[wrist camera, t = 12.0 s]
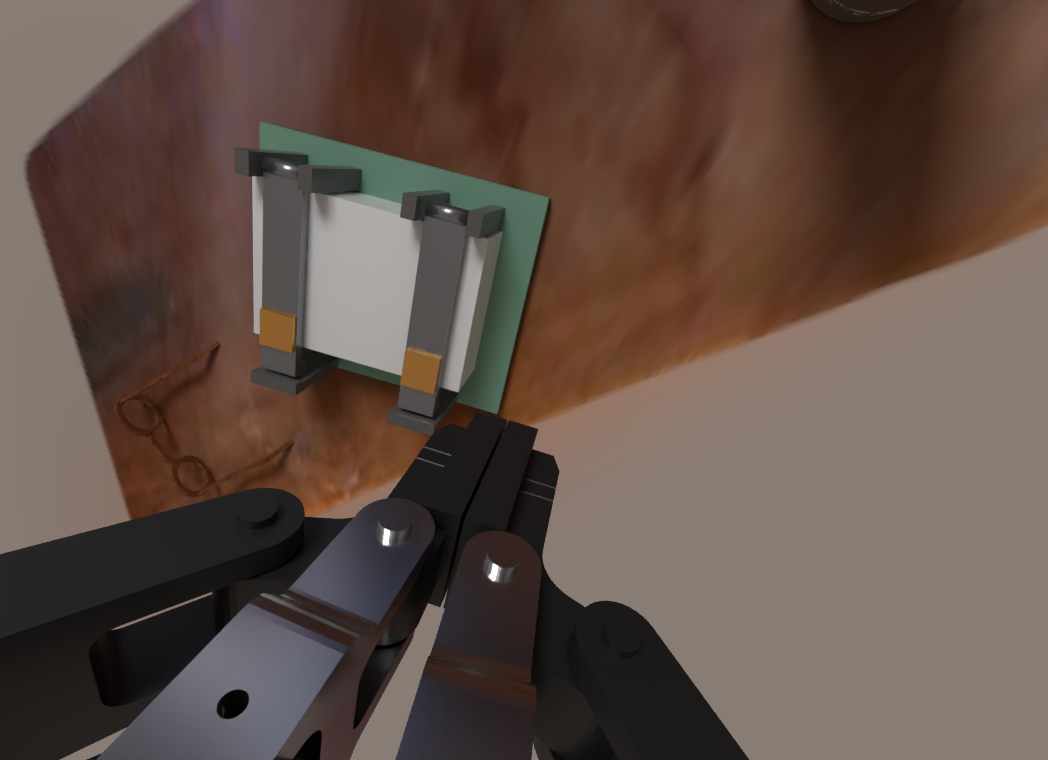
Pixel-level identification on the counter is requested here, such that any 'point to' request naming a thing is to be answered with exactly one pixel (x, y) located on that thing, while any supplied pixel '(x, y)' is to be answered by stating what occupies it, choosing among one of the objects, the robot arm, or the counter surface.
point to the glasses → (160, 449)
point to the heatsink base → (462, 197)
